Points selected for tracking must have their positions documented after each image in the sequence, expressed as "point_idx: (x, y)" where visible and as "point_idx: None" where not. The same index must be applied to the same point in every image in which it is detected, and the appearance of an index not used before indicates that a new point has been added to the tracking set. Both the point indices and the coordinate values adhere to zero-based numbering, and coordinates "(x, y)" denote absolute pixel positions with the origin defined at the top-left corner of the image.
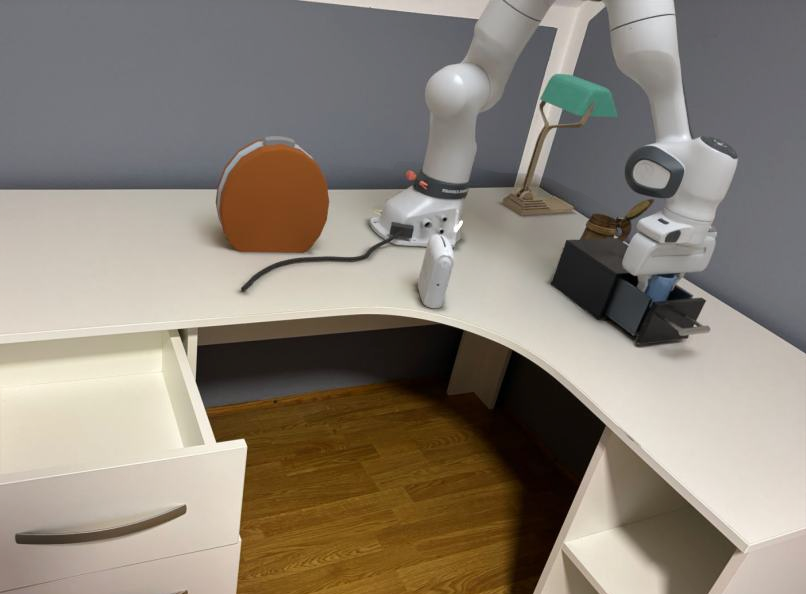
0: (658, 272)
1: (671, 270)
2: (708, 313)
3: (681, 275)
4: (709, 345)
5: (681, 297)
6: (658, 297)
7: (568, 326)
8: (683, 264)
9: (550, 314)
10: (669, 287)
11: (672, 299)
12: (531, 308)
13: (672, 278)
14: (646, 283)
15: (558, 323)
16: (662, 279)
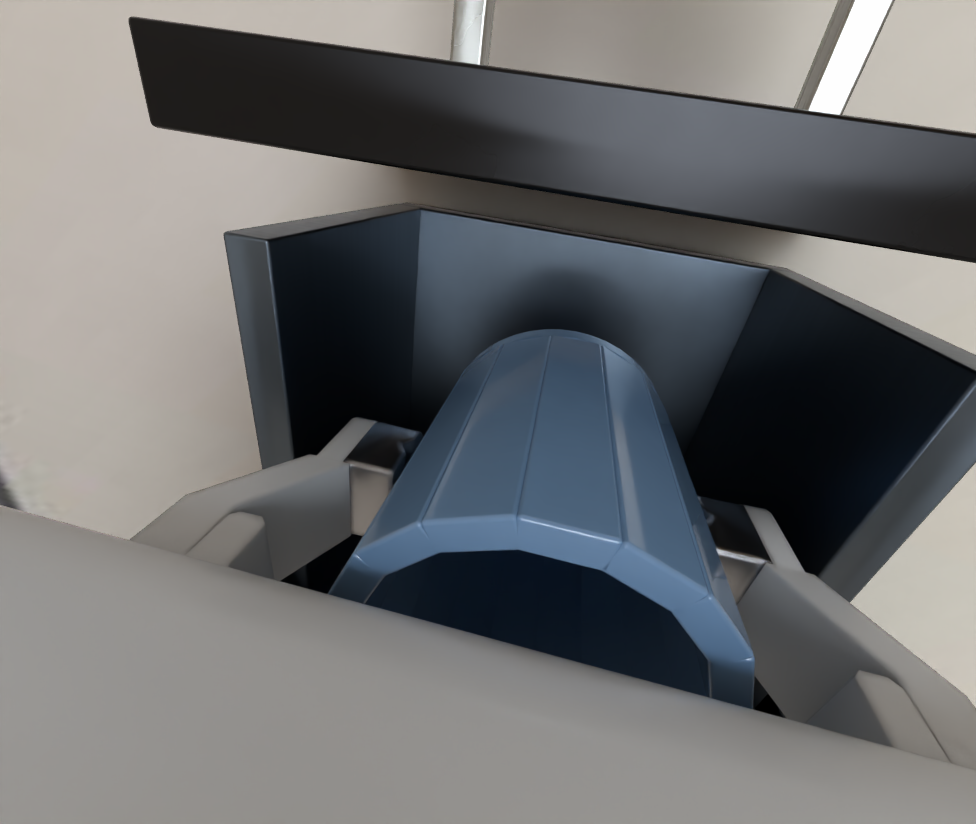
0: (949, 807)
1: (558, 731)
2: (42, 293)
3: (219, 523)
4: (255, 13)
5: (319, 317)
6: (641, 397)
7: (956, 499)
8: (154, 810)
9: (899, 584)
10: (563, 431)
11: (353, 364)
12: (924, 638)
13: (543, 541)
14: (833, 606)
15: (971, 533)
16: (721, 591)
